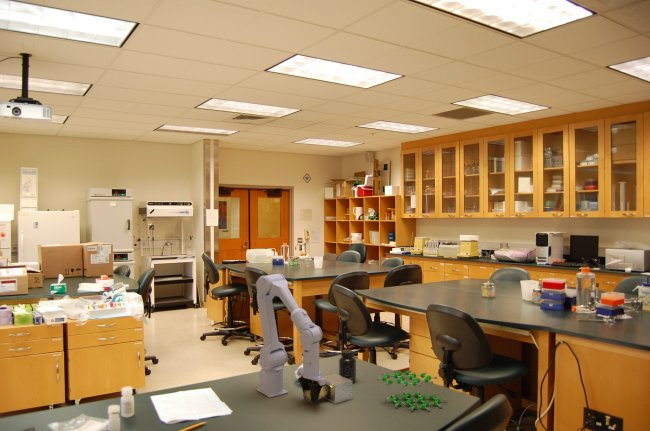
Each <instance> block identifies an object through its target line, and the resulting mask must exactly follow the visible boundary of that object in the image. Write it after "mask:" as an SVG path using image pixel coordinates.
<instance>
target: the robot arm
mask: <svg viewBox="0 0 650 431" xmlns="http://www.w3.org/2000/svg"><path fill="white" fill-rule="evenodd" d="M288 284H289V283H288V280H287V279H286V277H285V275H284V274H282V273H279V272H278V273H275V274H267V275H261V276H260V277H259V278H258V279H257V280H256V281H255V287H256V292H257V293H256V301H257V307H258V312H259V320H260V326H261V332H262V340H263V345H262V346H261V348H260V349H259V360H258V361H259V365H260V371H259V377H258V378H259V381H258V382H259V387H258V388H257V391H258V392H260V393H262V394H263V395H264V396H266V397H268V398H273V397H277V396H281V395H285V394H288V393H289V392H288V390H286V389H284V368H285V364H286V363H287V362H288V353H287V352H286V350H285V346H284V343H282V342H280V341H279V335H278V329H277V328H278V327H277V324H276V323H277V322H276V318H275V312H274V311H275V310H274V306H273V299H274V298H275V297H278V298H279V299H280V300H281V301H282V303H283V305H284V306H285V307H286V309H287V310H288V312H290V320H291V321H292V323H293V325H294V326H295V328H296V329H297V331H298V333H299V334H300V335H299V338H298V339H299V342H300V343H301V348H302V367H300V368H297V371H296V372H297V373H296V374H297V375H298V376H300V375H301V376H300V377H298V378H297V380H298V382H299V384H300V386H301V389H302V390H301V391H302V393H304V391H305V390H309V389H310V391H311V400H312V401H311V403H313V404H314V403H317V402H319V399H318V398H319V394H320V391H321V389H322V387H323V385H325V384H326V379H325V378H323V375H322V371H320V341H321V340H322V339H323V334H324V333H323V330H322V329H321V327H320V326H319V325H316V324H315V323H314V322H312V319H311V318H310V317H309V315H308V311H307V310H305V309H304V308H300V307H299V305H298V304H297V301H296V299H295V298H294V296H293V295H292V293H291V290H290V289H289V286H288Z"/></svg>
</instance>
